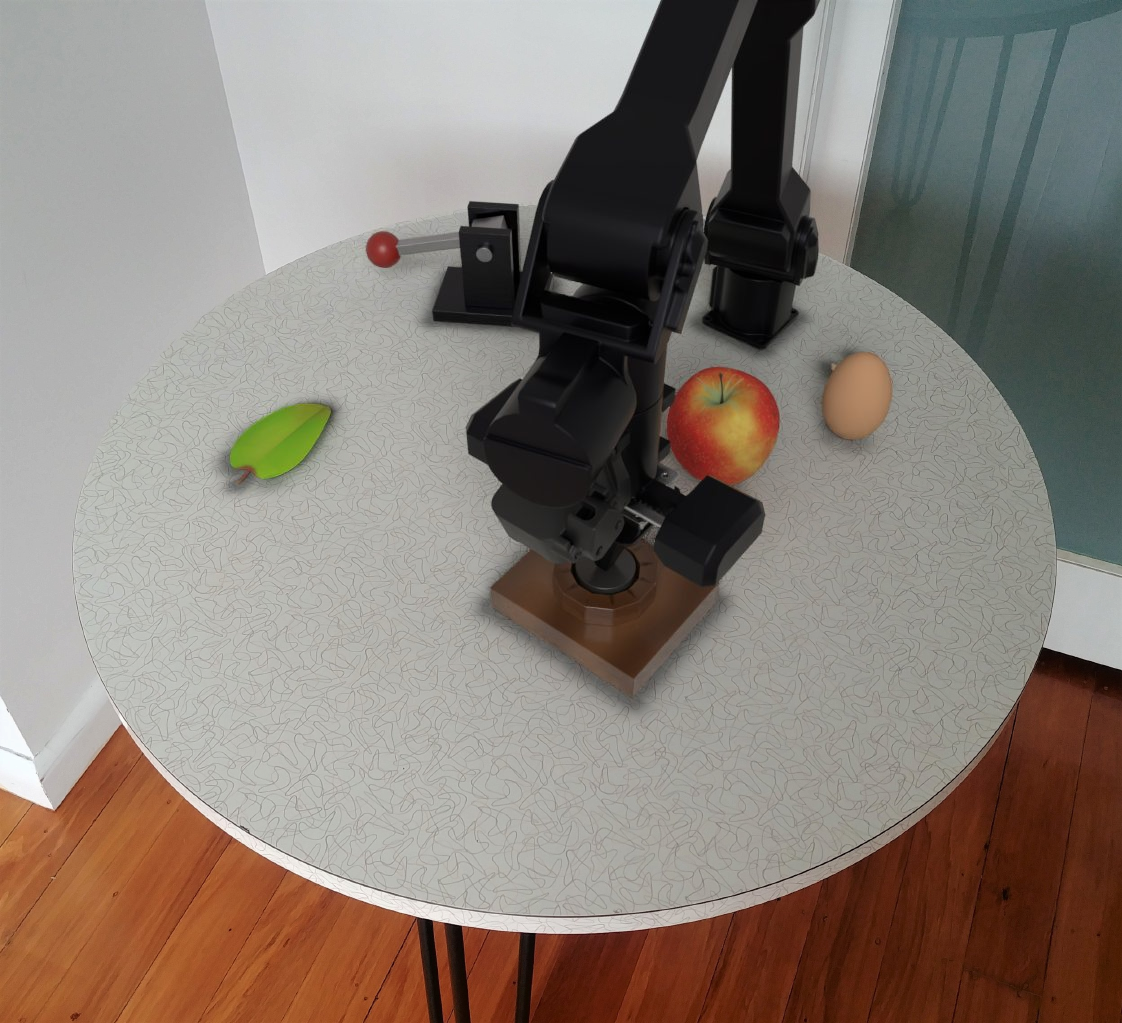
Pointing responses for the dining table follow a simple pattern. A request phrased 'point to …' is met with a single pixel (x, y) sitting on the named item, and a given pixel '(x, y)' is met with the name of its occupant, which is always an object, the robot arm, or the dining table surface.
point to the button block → (605, 614)
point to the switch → (418, 243)
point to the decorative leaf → (279, 440)
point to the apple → (723, 424)
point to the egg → (857, 396)
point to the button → (606, 575)
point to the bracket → (484, 270)
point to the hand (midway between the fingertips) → (605, 564)
